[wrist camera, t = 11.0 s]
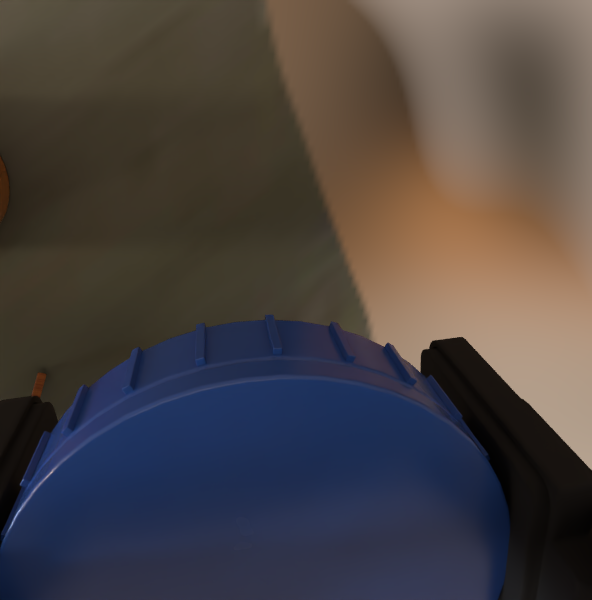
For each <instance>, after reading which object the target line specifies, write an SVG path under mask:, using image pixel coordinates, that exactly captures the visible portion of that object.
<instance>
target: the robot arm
mask: <svg viewBox="0 0 592 600" xmlns="http://www.w3.org/2000/svg"><path fill="white" fill-rule="evenodd" d="M421 374H422V375H423V376H424V377H426V378H427V377H429V376H430V375H432V376H433V377H434V379H435V380H436V381H437V382H438V384H439V385H440V386H441V388H442V389H443V390H444V392H445V393H446V394H447V396H448V397H449V398H450V400H451V401H452V402H453V404H454V405H455V406H456V408H457V409H458V410H459V412H460V413H461V414H462V416H463V417H461V418H462V420H463V421H464V422H465V424H466V425H467V426H468V428H469V429H470V430H471V432H472V433H473V434H474V436H475V437H476V438H477V440H478V441H479V442H480V444H481V445H482V446H483V448H484V449H485V451H486V452H487V453H488V455H489V457H490V460H489V462H490V464H491V466H492V468H493V470H494V472H495V473H496V475H497V477H498V479H499V481H500V483H501V486H502V489H503V492H504V495H505V498H506V501H507V504H508V509H509V516H510V536H509V546H508V555H507V564H506V573H505V580H504V585H503V588H502V591H501V594H500V597H499V599H498V600H592V470H591V469H590V468H589V467H588V466H587V465H586V464H585V463H584V462H583V461H582V460H581V459H580V458H579V457H578V456H577V454H576V453H575V452H574V451H573V450H572V449H571V448H570V447H569V446H568V445H567V444H566V443H565V442H564V441H563V440H562V439H561V438H560V436H559V435H558V434H557V433H556V432H555V431H554V430H553V429H552V428H551V427H550V426H549V425H548V424H547V423H546V422H545V421H544V420H543V419H542V417H541V416H540V415H539V414H538V413H537V412H536V411H535V410H534V409H533V408H532V407H531V406H530V405H529V404H528V403H527V402H526V401H524V400H523V399H521V398H520V397H519V396H518V395H517V394H516V393H515V392H514V391H513V390H512V389H511V388H510V387H509V385H508V384H507V383H506V382H505V381H504V380H503V379H502V378H501V377H500V376H499V375H498V374H497V373H496V372H495V370H493V368H492V367H491V366H490V365H489V364H488V363H487V362H486V361H485V360H484V359H483V358H482V357H481V356H480V355H479V354H478V352H477V351H475V349H474V348H473V347H472V346H471V345H470V344H469V343H468V342H467V341H466V339H464V338H463V337H457V338H450V339H443V340H435V341H432V342H431V344H430V347H429V349H425V350H423V351H422V353H421ZM57 424H58V420H57V417H56V414H55V410H54V408H53V405H52V404H51V403H50V402H45V403H42V401H41V399H40V398H39V397H38V396H28V397H21V398H14V399H7V400H2V401H0V536H1V533H2V531H3V529H4V526H5V524H6V522H7V520H8V517H9V515H10V513H11V511H12V508H13V506H14V504H15V502H16V499H17V497H18V495H19V493H20V490H21V488H22V486H20V483H21V481H22V478H23V476H24V474H25V472H26V470H27V467H28V465H29V463H30V461H31V459H32V456H33V454H34V452H35V450H36V448H37V445H38V443H39V441H40V439H41V437H42V435H43V433H44V432H45V431H46V432H49V433H51V432H52V431H53V429H54V428H55V426H56V425H57ZM1 544H2V541H0V547H1Z"/></svg>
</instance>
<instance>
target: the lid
mask: <svg viewBox="0 0 592 600" xmlns="http://www.w3.org/2000/svg"><path fill="white" fill-rule="evenodd" d="M461 417H463V416H462V414H461V413H460V412H459V410H458V409H457V408H456V406H455V405H454V404H453V402H452V401H451V400H450V398H449V397H448V396H447V394H446V393H445V392H444V390H443V389H442V388H441V386H440V385H439V384H438V382H437V381H436V380H435V379H434V377H433V376H432V375H430V376H429V377H427V378H426V377H424V376H423V375H422V374H421V373H420V372H419V371H418V370H417V369H416V368H415V367H413V366H412V365H411V364H410V363H409V362H407V361H406V360H404V359H403V358H401V356H400V355H399V353H398V352H397V351H396V349H395V348H394V346H393V345H391V344H390V343H387V344H386V345H385V347H383V346H381V345H379V344H377V343H375V342H373V341H371V340H369V339H366V338H364V337H362V336H360V335H356V334H353V333H350V332H347V331H344V330H342V329H341V328H340V326H339V324H338V323H335V322H331V323H330V326H324V325H318V324H313V323H307V322H301V321H283V320H275V319H274V316H273V315H265V320H258V321H243V322H233V323H228V324H222V325H217V326H212V327H206V326H205V323H201V324H197V325H196V330H195V331H192V332H189V333H186V334H183V335H180V336H176V337H173V338H170V339H168V340H166V341H164V342H161V343H159V344H157V345H155V346H153V347H150V348H148V349H146V350H143V351H142V350H141V349H140V347H137V348H135V349H134V350H132V352H131V356H130V358H129V359H128V360H126V361H125V362H123V363H121V364H120V365H118V366H116V367H115V368H113V369H111V370H110V371H109V372H108V373H106V374H105V375H104V376H103V377H101V378H100V379H99V380H98V381H96V382H95V383H94V384H93V385H92V386H90V387H89V388H88V387H87V386H86V385H83V386H81V387H80V388H79V390H78V392H77V395H76V397H75V400H74V402H73V404H72V406H71V407H70V408H69V409H68V410H67V411H66V412H65V413H64V415H63V416H62V418H61V419H60V421H59V422H58V424H57V425H56V426H55V428H54V429H53V431H52V432H51V433H49V432H46V431H45V432H44V433H43V435H42V437H41V439H40V441H39V443H38V445H37V448H36V450H35V452H34V454H33V456H32V459H31V461H30V463H29V465H28V467H27V470H26V472H25V474H24V476H23V478H22V481H21V483H20V486H22V488H21V490H20V493H19V495H18V497H17V499H16V502H15V504H14V506H13V508H12V511H11V513H10V515H9V517H8V520H7V522H6V524H5V526H4V529H3V531H2V533H1V536H0V541H2V544H1V547H0V600H498V599H499V597H500V594H501V591H502V588H503V585H504V580H505V573H506V564H507V555H508V546H509V536H510V516H509V509H508V504H507V501H506V498H505V495H504V492H503V489H502V486H501V483H500V481H499V479H498V477H497V475H496V473H495V472H494V470H493V468H492V466H491V464H490V462H489V460H490V457H489V455H488V453H487V452H486V451H485V449H484V448H483V446H482V445H481V444H480V442H479V441H478V440H477V438H476V437H475V436H474V434H473V433H472V432H471V430H470V429H469V428H468V426H467V425H466V424H465V422H464V421H463V420H462V418H461Z"/></svg>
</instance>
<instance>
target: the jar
mask: <svg viewBox="0 0 592 600" xmlns="http://www.w3.org/2000/svg"><path fill="white" fill-rule="evenodd" d="M8 202H9V180H8V175H7V172H6V168H5V165H4V163H3V160H2V158H1V156H0V223H1V221H2V219H3V217H4V215H5V213H6V210H7V207H8Z"/></svg>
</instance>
